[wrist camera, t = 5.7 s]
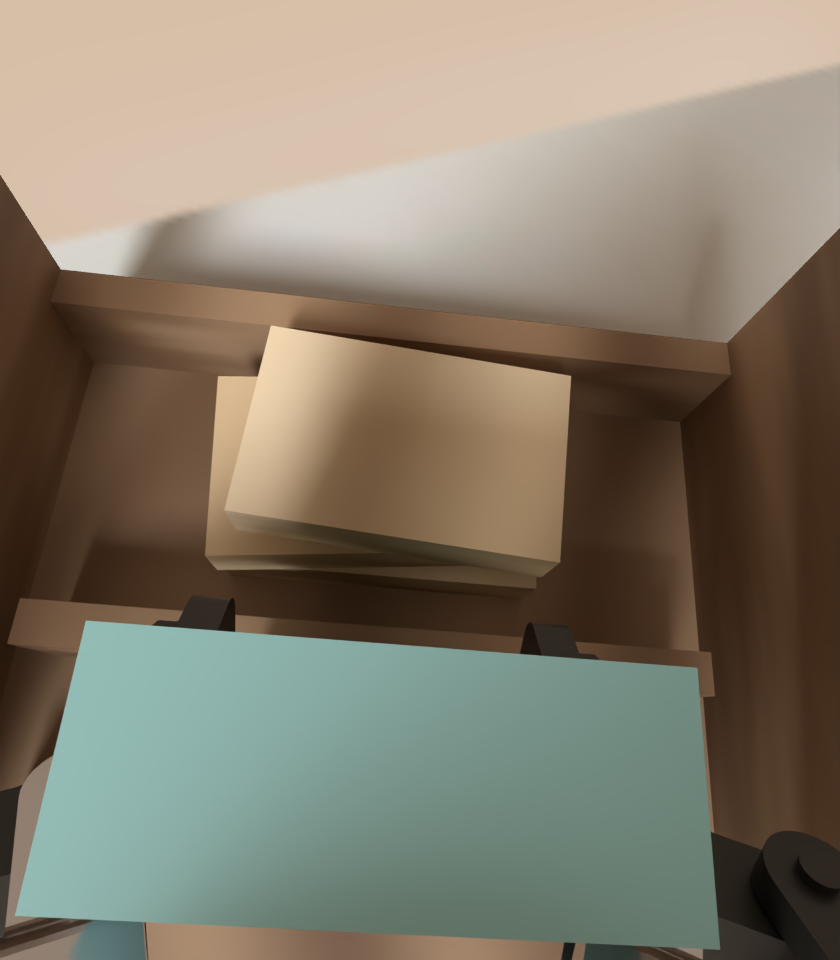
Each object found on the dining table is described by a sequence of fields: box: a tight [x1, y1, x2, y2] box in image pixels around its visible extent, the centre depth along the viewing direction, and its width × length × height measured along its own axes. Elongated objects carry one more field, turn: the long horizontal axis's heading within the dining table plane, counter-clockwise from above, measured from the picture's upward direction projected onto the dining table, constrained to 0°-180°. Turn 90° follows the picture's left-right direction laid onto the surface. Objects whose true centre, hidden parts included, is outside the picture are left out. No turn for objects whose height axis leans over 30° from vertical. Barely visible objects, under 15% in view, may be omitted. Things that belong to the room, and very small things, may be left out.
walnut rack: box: [0, 176, 840, 960], centre depth 14 cm, size 20×16×10 cm
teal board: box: [15, 621, 720, 950], centre depth 11 cm, size 6×2×12 cm, turn 86°
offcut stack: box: [205, 326, 571, 599], centre depth 17 cm, size 9×5×4 cm, turn 86°
